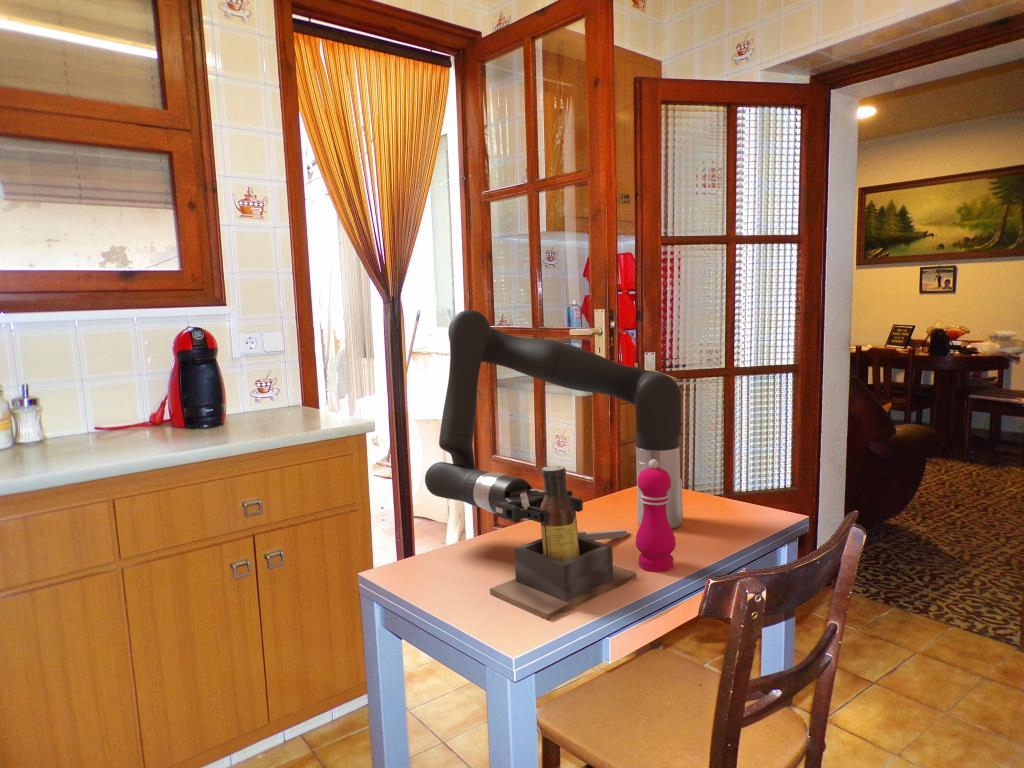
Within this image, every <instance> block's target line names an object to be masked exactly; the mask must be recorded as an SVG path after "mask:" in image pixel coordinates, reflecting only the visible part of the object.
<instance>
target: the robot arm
mask: <svg viewBox="0 0 1024 768" xmlns="http://www.w3.org/2000/svg"><path fill="white" fill-rule="evenodd" d="M447 335H448V340H449V350H450V351H449V372H448V373H449V374H448V381H447V387H446V393H445V394H446V395H445V400H444V405H443V411H442V416H441V417H442V418H441V424H440V432H439V440H438V445H439V448H440V449H441V450H443V451H445V452H447V453H449V455H450V456H451V461H452V463H451V462H446V461H445V462H444V461H438V462H435V463H433V464H432V465H431V466H429V468H428V469H427V470H426V473H425V475H424V483H425V486H426V489H427V491H428V492H430V494H431V495H433V496H435V497H438V498H442V499H449V500H454V501H459V502H462V503H465V504H469V505H471V506H473V507H476V508H481V509H483V510H484V511H487V512H489V513H492V514H495V515H496V517H499V518H502V519H504V520H506V521H510V522H512V523H521V520H523V521H526V522H528V521H532V522H537V523H540V524H541V523H543V524H544V523H547V522H548V512H547V511H546V510H544V509H540V505H541V503H542V501H543V499H544V496H545V492H544V490H545V489H539V488H533V487H532V486H531V484H530V483H529V482H528V481H527V480H526V479H524V478H521V477H517V476H513V475H509V474H504V473H498V472H489V471H486V470H480V469H476V462H475V456H474V455H475V453H474V448H473V442H474V436H475V435H474V434H475V427H476V417H477V406H478V405H477V401H478V385H479V384H478V383H479V377H480V370H481V369H480V368H481V364H482V363H487V364H491V365H496V366H500V367H505V368H507V369H511V370H513V371H516V372H518V373H521V374H523V375H526V376H529V377H531V378H535V379H538V380H540V381H543V382H546V383H549V384H551V385H552V384H553V385H556V386H558V387H562V388H566V389H569V390H570V389H571V390H575V391H580V392H587V393H592V394H593V393H595V394H602V395H607V396H610V397H614V398H616V399H620V400H622V401H624V402H627V403H629V404H632V405H634V406H636V433H635V458H636V459H635V462H636V463H635V464H636V497H637V498H636V501H637V502H636V504H637V507H636V508H637V524H638V525H639V526H640V525H641V522H642V518H643V510H644V508H643V503H642V502H641V494H642V491H641V490H640V489H639V487H638V483H637V481H638V476H639V474H640V472H641V471H643V470H644V469H646V468H650V466H649V462H650V461H651V460H652V459H655V460H657V461H658V463H659V466H658V468H661V469H664V470H665V471H667V473H668V474H669V476H670V478H671V487H670V489H669V490H668V491H667V494H668V495H669V497H668V500H669V502H668V503H666V513H667V518H668V522H669V524H670V526H671V529H672V530H673V529H676V528H677V527H680V526H681V524H682V522H683V521H684V518H683V517H684V516H683V515H684V514H683V512H684V511H683V510H684V509H683V505H684V504H683V478H681V469H680V468H681V462H680V461H681V460H680V459H681V458H680V439H681V438H680V436H681V434H682V396H681V395H682V394H681V390H680V389H681V388H680V386H679V384H678V383H677V381H676V380H674V379H673V378H672V377H671V376H670V375H667V374H665V373H664V372H661V371H656V370H650V369H644V368H638V367H633V366H629V365H626V364H625V365H624V364H622V363H618V362H614V361H612V360H610V359H608V358H605V357H604V356H601V355H599V354H598V353H597V354H596V353H594V352H592V351H589V350H586V349H584V348H581V347H579V346H575V345H573V344H569V343H566V342H563V341H558V340H554V339H549V338H548V339H547V338H537V337H521V336H517V335H512V334H509V333H507V332H503V331H501V330H498V329H496V328H492V327H491V324H490V322H489V320H488V319H487V317H486V316H485V314H482V313H481V312H480V311H477V310H474V309H465V310H463V311H460V312H458V313H457V314H456V315H455V316H454V317H453V318H452V320H451V321H450V323H449V325H448V332H447ZM567 493H568V495H569V498H570V500H571V502H572V505H573V507H574V509H575V511H576V513H577V512H578V513H580V512H582V511H583V510H584V509H583V507H584V506H583V500H582V498H578V497H574V496H573V490H571V489H567Z"/></svg>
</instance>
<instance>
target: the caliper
mask: <svg viewBox="0 0 1024 768" xmlns="http://www.w3.org/2000/svg"><path fill="white" fill-rule="evenodd" d="M629 534H630V535H631V532H629V531H628V530H625V529H614V530H603V531H593V532H586V531H583V530H580V531H578V536H580V537H584V538H587V539H590V540H593V541H601V540H602V541H603V540H612V539H622V538H624V537H623V536H625V537H627V536H630V535H629ZM621 537H622V538H621Z"/></svg>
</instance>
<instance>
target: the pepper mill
mask: <svg viewBox="0 0 1024 768" xmlns="http://www.w3.org/2000/svg"><path fill="white" fill-rule="evenodd" d="M649 466H650V468H646V469H644V470H643V471H641V472H640V474H639V476H638V481H637V480H636V484H637V483H638V487H639V489H640V490H641V491H642V494H641V502H642V503H643V508H644V510H643V518H642V522H641V525H639V528H638V529H637V532H636V536H635V547H636V549H637V550H638V551H639V555H638V567H640V569H642V570H643V571H646V572H654V573H664V572H668V571H670V570H672V569H673V567H674V556H673V555H672V553H673V552H674V551H675V550H676V545H677V544H676V543H677V542H676V537H675V533H674V531H673V528H672V529H671V526H670V524H669V522H668V518H667V513H666V503H668V502H669V500H668V497H669V495H668V494H667V491H668V490H669V489H670V487H671V478H670V476H669V474H668V473H667V471H665V470H664V469H661V468H658V466H659V463H658V461H657V460H655V459H652V460H651V461H650V462H649Z"/></svg>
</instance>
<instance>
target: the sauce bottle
mask: <svg viewBox="0 0 1024 768" xmlns="http://www.w3.org/2000/svg"><path fill="white" fill-rule="evenodd" d="M566 476H567V472H566V467H565V466H564V465H548V466H546V467H545V466H544V467H542V469H541V477H542V478H543V485H544V489H543V490H544V492H545V496H544V499H543V501H542V503H541V505H540V509H544V510H546V511H547V512H548V522H547V523H544V524H543V523H540V527H541V528H540V529H541V530H540V531H541V539H542V542H543V552H544V555H546V556H548V557H551V558H554V559H557V560H560V561H563V562H564V561H567V560H569V559H572V558H574V557H577V556H579V555H580V552H579V541H578V521H577V511H575V509H574V507H573V505H572V502H571V500H570V498H569V495H568V493H567V490H568V489H567V482H566V481H567V480H566Z"/></svg>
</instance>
